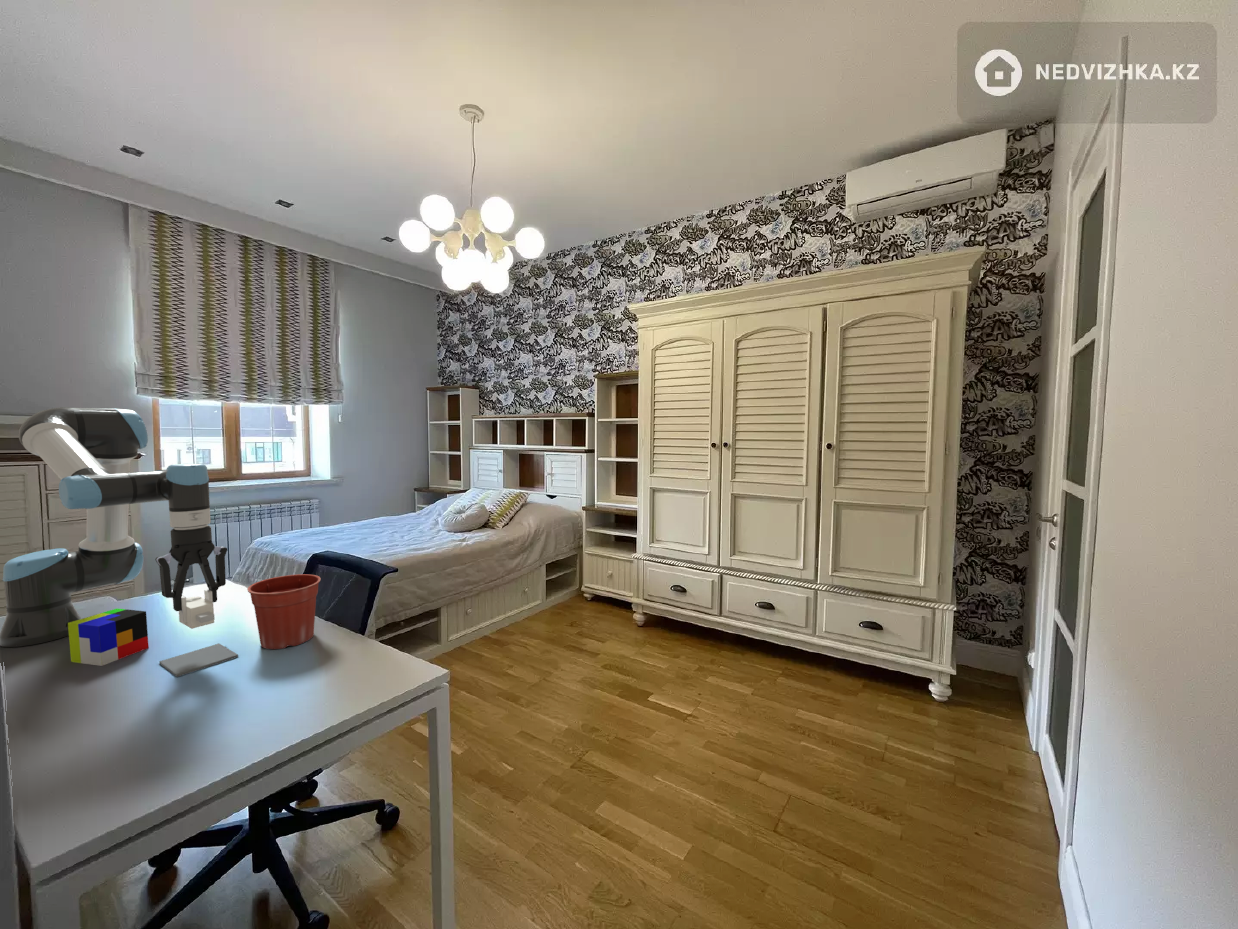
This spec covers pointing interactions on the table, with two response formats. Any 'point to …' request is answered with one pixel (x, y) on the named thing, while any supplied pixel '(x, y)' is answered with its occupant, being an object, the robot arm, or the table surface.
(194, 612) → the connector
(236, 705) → the table surface
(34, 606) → the robot arm
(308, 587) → the flower pot
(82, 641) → the puzzle toy
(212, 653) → the coaster
